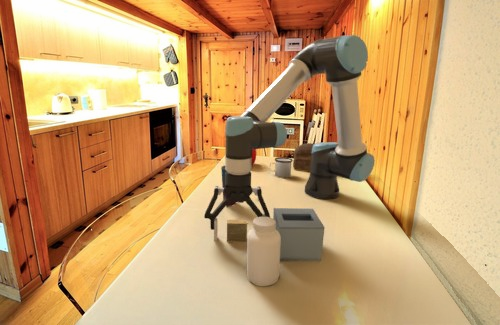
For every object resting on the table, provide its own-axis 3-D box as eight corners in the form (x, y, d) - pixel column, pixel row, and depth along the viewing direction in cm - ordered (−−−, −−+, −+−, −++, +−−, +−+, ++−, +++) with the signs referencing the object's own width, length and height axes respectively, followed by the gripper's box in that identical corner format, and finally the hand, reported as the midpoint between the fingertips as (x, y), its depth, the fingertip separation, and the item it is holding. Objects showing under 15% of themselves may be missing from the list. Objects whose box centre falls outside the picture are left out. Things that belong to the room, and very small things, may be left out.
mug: (291, 173, 156) (293, 157, 154) (291, 179, 147) (292, 162, 145) (270, 172, 158) (271, 156, 156) (268, 177, 149) (268, 160, 147)
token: (246, 237, 88) (247, 219, 87) (246, 241, 86) (247, 223, 85) (227, 237, 88) (227, 219, 87) (226, 241, 86) (227, 223, 84)
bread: (295, 164, 178) (297, 138, 174) (349, 170, 167) (352, 143, 163) (290, 169, 164) (292, 142, 160) (348, 177, 154) (352, 148, 150)
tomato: (248, 169, 162) (248, 146, 158) (228, 165, 169) (229, 142, 165) (262, 164, 174) (263, 142, 171) (243, 160, 181) (244, 139, 178)
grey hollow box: (310, 238, 89) (313, 208, 87) (321, 260, 78) (324, 227, 75) (272, 237, 89) (273, 208, 86) (277, 260, 77) (279, 226, 75)
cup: (235, 207, 110) (236, 170, 106) (218, 205, 112) (219, 168, 108) (239, 201, 117) (240, 165, 113) (223, 199, 118) (224, 164, 114)
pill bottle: (245, 267, 74) (246, 213, 70) (275, 266, 75) (278, 213, 71) (247, 287, 66) (249, 229, 62) (281, 286, 67) (285, 228, 63)
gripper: (278, 168, 86) (274, 233, 91) (197, 166, 85) (198, 232, 90) (282, 175, 79) (278, 245, 84) (193, 174, 77) (194, 245, 83)
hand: (236, 238), depth 87 cm, fingers open, 12 cm apart
